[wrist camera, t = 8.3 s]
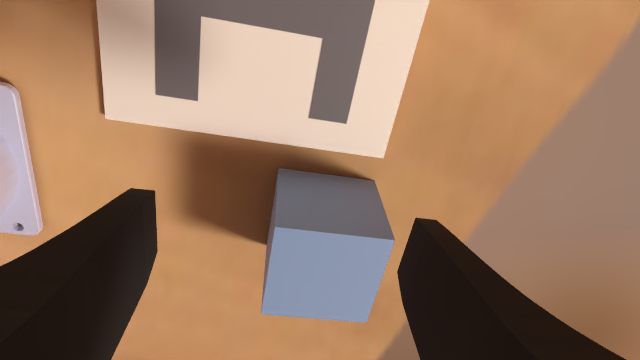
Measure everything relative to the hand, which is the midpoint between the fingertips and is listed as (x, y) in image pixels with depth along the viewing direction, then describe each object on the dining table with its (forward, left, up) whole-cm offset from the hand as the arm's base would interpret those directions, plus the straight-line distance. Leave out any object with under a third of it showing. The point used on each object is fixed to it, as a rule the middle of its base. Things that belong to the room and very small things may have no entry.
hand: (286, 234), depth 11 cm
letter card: (-2, +5, -9) cm, 10 cm away
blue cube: (+2, -5, -9) cm, 11 cm away
